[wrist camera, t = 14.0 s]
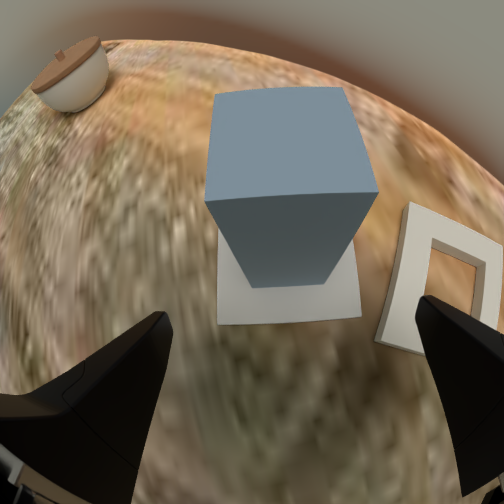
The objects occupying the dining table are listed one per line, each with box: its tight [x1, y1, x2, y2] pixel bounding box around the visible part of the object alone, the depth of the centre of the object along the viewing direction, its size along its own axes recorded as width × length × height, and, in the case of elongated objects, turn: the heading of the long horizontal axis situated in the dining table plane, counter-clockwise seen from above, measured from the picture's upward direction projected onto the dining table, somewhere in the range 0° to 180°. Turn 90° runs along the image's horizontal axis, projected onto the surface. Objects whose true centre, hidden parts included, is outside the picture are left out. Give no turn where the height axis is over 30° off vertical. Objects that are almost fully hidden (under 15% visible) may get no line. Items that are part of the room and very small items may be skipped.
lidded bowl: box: [31, 36, 109, 113], centre depth 27 cm, size 13×13×11 cm
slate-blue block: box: [204, 87, 379, 288], centre depth 14 cm, size 5×5×12 cm
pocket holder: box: [374, 202, 503, 356], centre depth 16 cm, size 11×11×2 cm
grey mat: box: [217, 229, 362, 325], centre depth 20 cm, size 10×10×1 cm
